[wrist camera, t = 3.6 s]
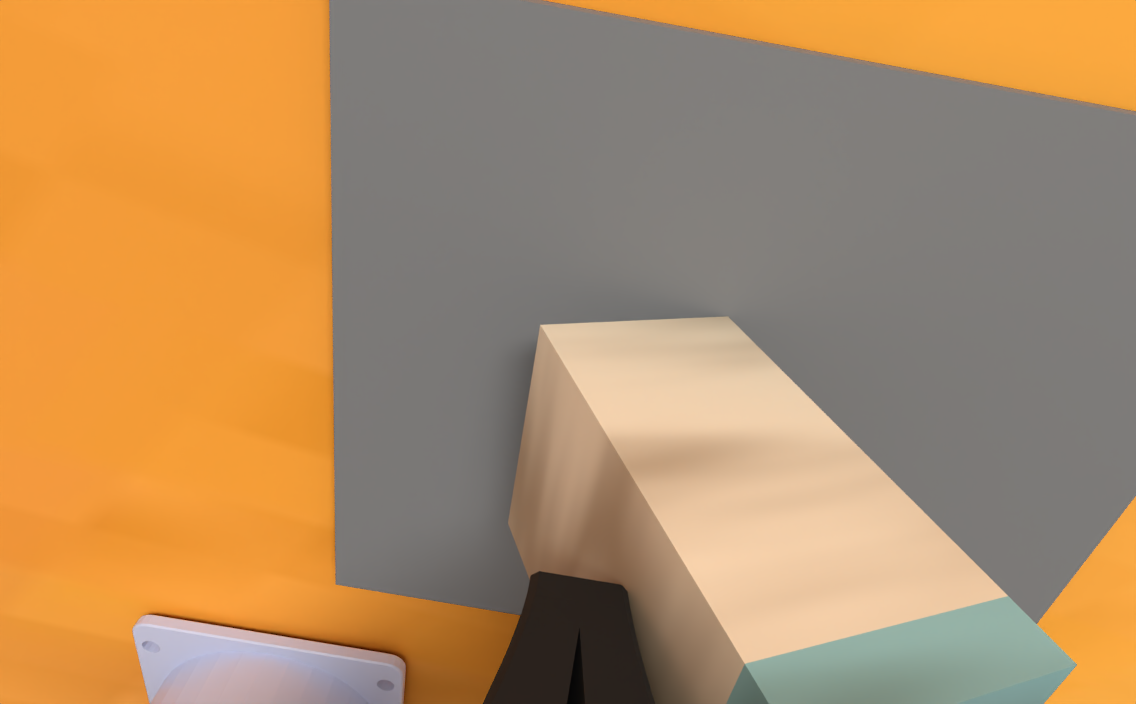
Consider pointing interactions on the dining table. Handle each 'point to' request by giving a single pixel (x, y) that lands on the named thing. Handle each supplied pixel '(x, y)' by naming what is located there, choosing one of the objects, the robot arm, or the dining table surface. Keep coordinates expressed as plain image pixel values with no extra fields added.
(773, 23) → the dining table surface
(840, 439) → the maple block
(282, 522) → the dining table surface
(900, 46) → the dining table surface
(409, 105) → the rubber mat
